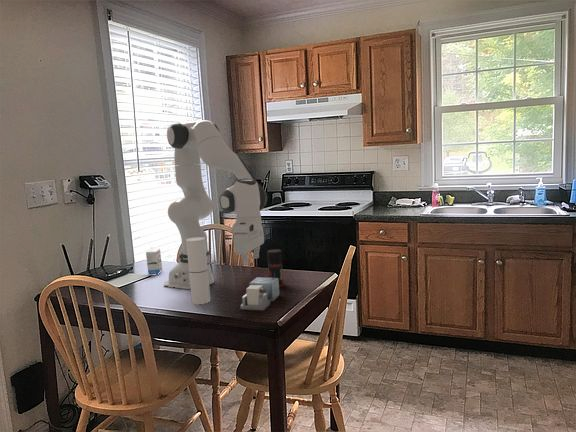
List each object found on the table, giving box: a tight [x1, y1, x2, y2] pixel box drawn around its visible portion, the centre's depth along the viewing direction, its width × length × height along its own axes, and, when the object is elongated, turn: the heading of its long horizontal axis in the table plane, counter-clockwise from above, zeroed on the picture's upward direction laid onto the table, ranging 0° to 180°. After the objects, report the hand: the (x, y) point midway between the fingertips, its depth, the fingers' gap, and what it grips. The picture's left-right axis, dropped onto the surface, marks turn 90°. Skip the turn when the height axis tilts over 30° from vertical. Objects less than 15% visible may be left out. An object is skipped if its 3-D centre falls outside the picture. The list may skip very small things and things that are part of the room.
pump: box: [245, 284, 266, 305], centre depth 174 cm, size 4×6×6 cm
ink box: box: [145, 248, 163, 275], centre depth 235 cm, size 9×5×12 cm, turn 179°
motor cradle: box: [240, 276, 280, 311], centre depth 181 cm, size 20×9×7 cm, turn 162°
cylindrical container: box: [186, 237, 211, 306], centre depth 183 cm, size 7×7×25 cm
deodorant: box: [266, 248, 284, 288], centre depth 200 cm, size 6×6×15 cm
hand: (251, 261), depth 173 cm, fingers open, 8 cm apart
